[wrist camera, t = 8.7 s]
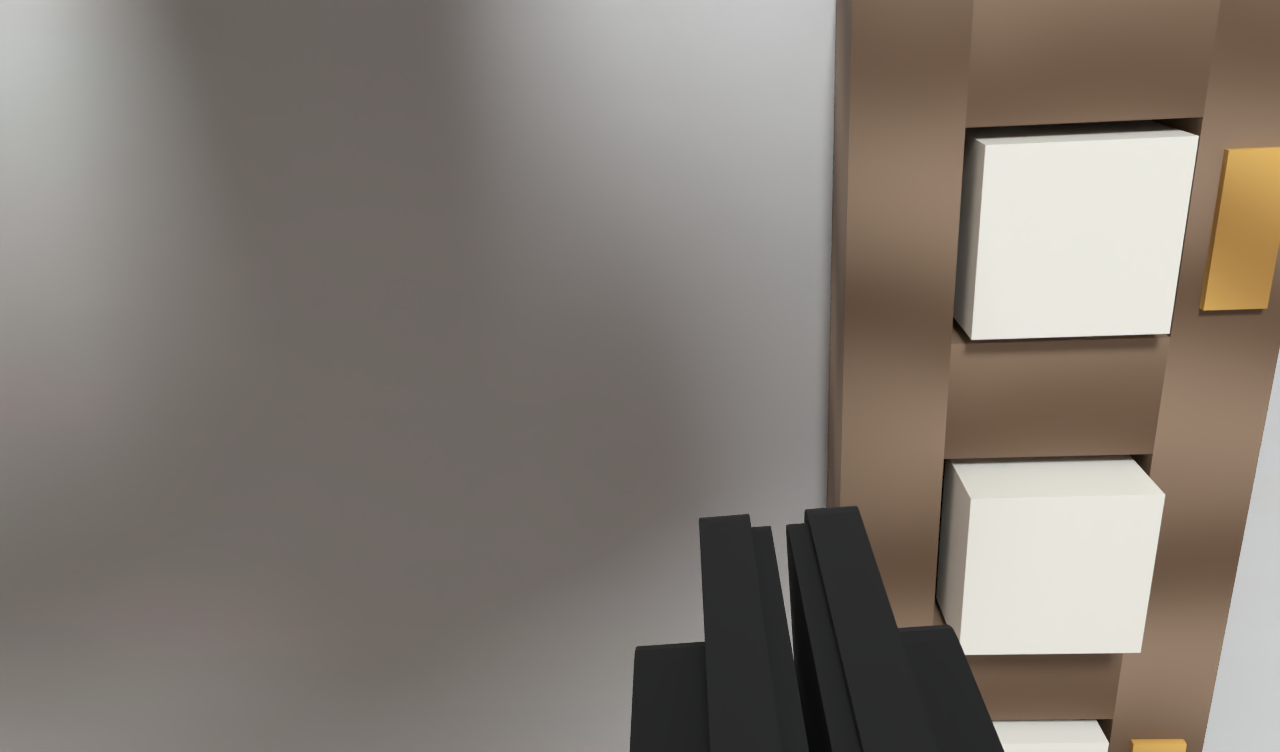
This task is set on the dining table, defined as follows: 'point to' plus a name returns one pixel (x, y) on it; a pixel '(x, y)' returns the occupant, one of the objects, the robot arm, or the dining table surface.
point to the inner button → (1071, 229)
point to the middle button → (1047, 553)
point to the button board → (1057, 366)
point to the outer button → (1051, 735)
